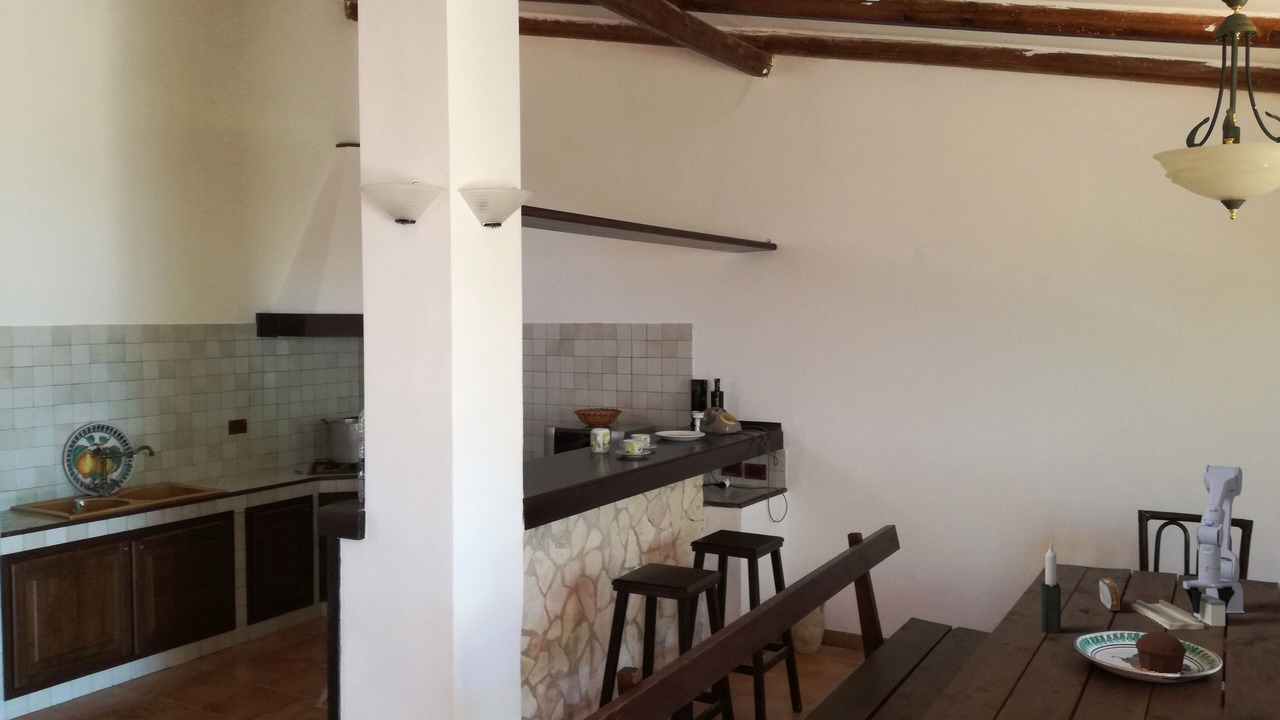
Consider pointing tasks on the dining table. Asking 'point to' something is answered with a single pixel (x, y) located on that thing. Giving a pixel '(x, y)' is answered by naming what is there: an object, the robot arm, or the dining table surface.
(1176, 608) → the rail board
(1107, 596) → the tin
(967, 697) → the dining table surface
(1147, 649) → the muffin
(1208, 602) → the block
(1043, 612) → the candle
